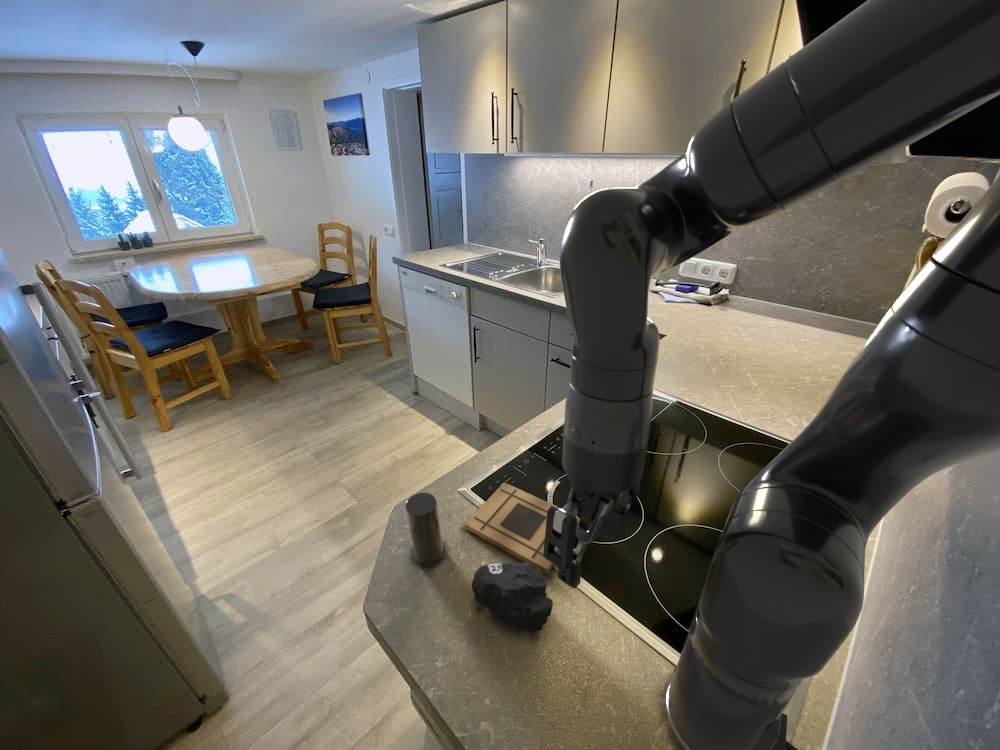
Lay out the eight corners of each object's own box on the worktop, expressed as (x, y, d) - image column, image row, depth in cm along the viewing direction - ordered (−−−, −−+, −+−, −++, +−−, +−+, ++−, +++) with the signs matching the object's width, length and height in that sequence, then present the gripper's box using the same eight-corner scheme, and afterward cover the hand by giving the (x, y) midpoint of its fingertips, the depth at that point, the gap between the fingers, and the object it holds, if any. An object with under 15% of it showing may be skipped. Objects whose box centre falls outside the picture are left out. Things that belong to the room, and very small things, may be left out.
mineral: (478, 646, 54) (476, 620, 52) (471, 584, 62) (469, 558, 60) (553, 632, 56) (555, 605, 53) (537, 573, 64) (538, 547, 61)
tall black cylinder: (448, 549, 68) (442, 500, 62) (429, 570, 65) (421, 520, 59) (428, 536, 70) (420, 488, 65) (408, 556, 67) (398, 507, 62)
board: (580, 522, 72) (581, 517, 71) (547, 574, 63) (547, 569, 63) (504, 486, 80) (503, 481, 79) (465, 528, 71) (464, 523, 71)
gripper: (600, 483, 31) (584, 626, 38) (678, 412, 40) (655, 537, 47) (523, 444, 35) (522, 577, 42) (609, 388, 45) (597, 505, 52)
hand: (591, 556), depth 45 cm, fingers open, 8 cm apart
